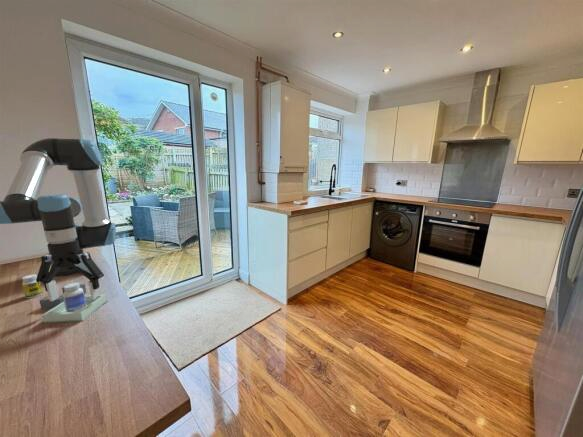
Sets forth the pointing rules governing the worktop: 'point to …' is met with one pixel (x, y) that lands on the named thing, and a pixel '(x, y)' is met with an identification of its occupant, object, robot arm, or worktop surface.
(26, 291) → the supplement bottle
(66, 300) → the pill bottle
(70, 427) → the worktop surface
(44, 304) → the block
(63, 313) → the tray
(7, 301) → the worktop surface
